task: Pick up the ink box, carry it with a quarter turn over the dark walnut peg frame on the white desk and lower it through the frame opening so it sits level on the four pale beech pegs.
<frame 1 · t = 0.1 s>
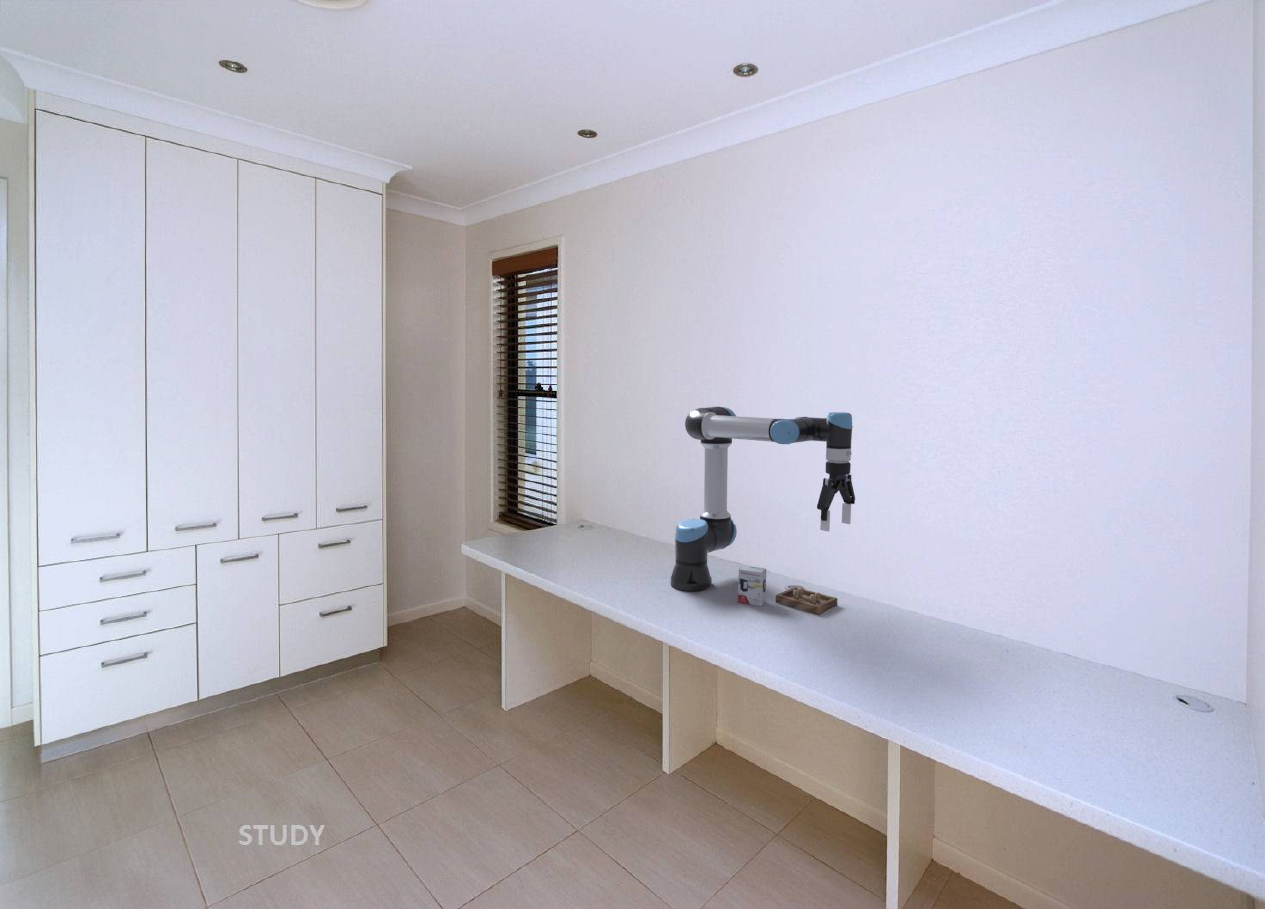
hand: (835, 527, 198), 28 cm above the table, fingers open, 13 cm apart
peg frame: (806, 604, 208), on the table
ink box: (751, 602, 210), on the table
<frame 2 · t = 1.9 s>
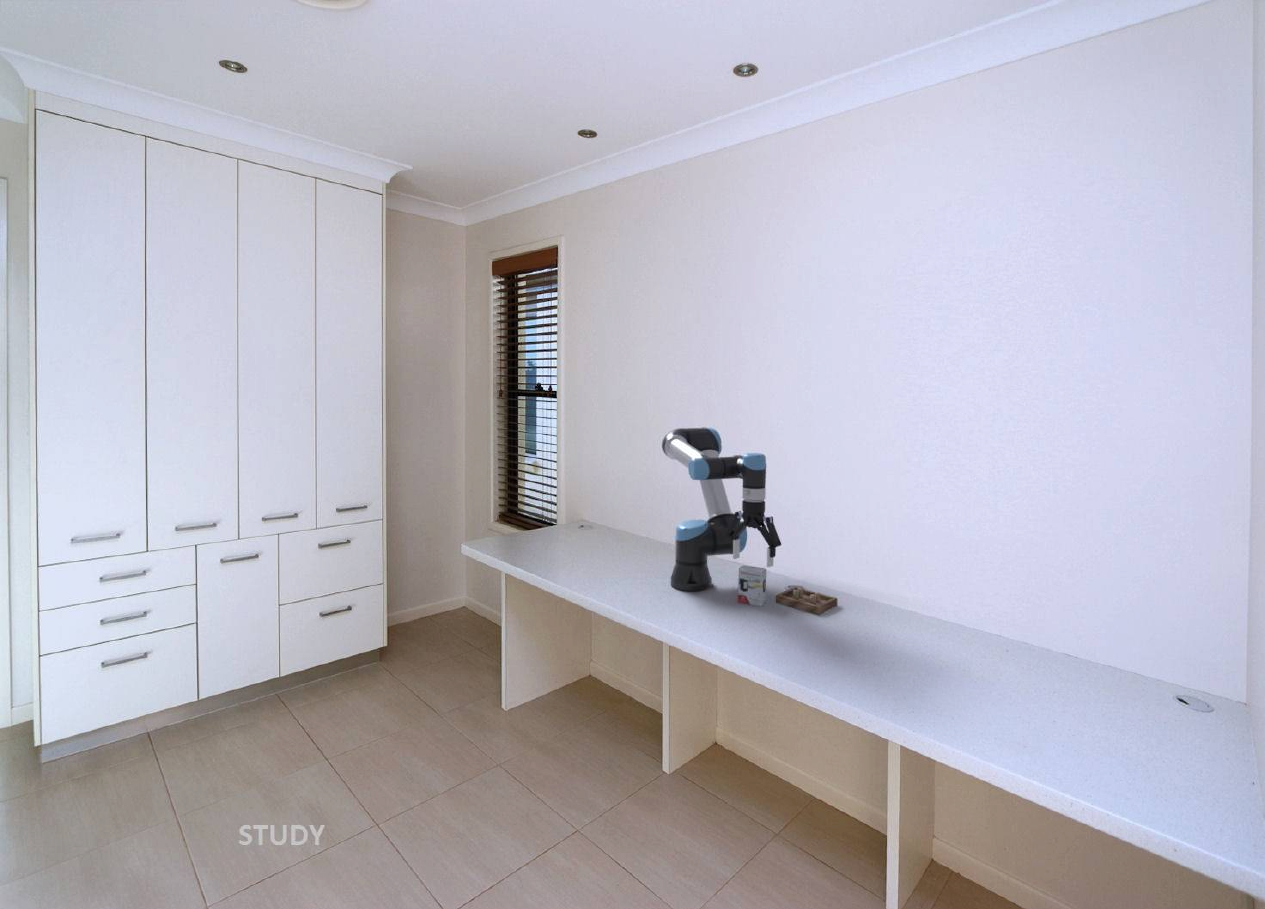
hand: (752, 562, 208), 14 cm above the table, fingers open, 13 cm apart
nothing on the table moved.
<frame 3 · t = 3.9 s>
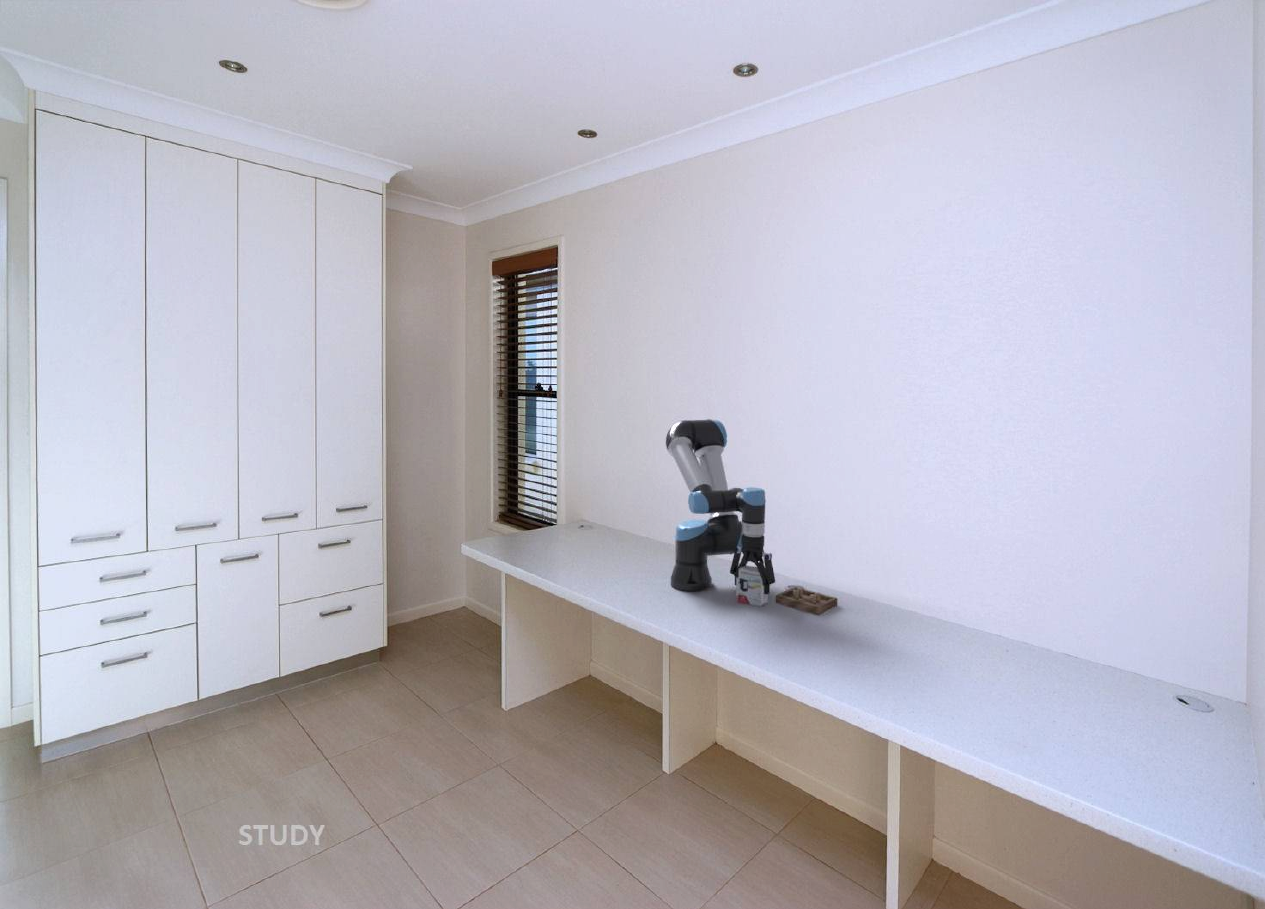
hand: (751, 598, 210), 1 cm above the table, fingers closed on ink box, 9 cm apart
ink box: (751, 602, 210), on the table, touching gripper
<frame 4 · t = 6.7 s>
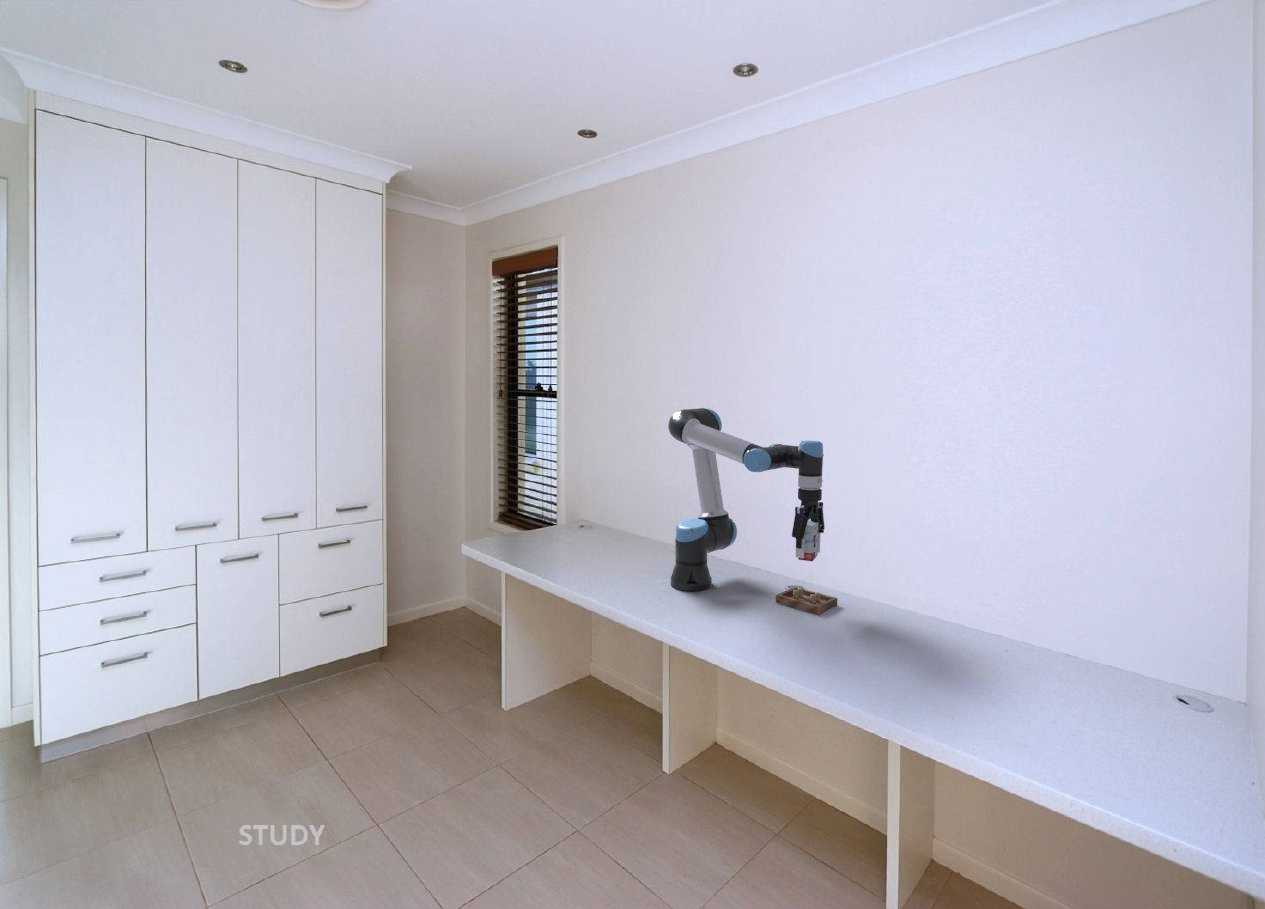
hand: (807, 554, 205), 17 cm above the table, fingers closed on ink box, 9 cm apart
ink box: (807, 558, 206), point 16 cm above the table, touching gripper
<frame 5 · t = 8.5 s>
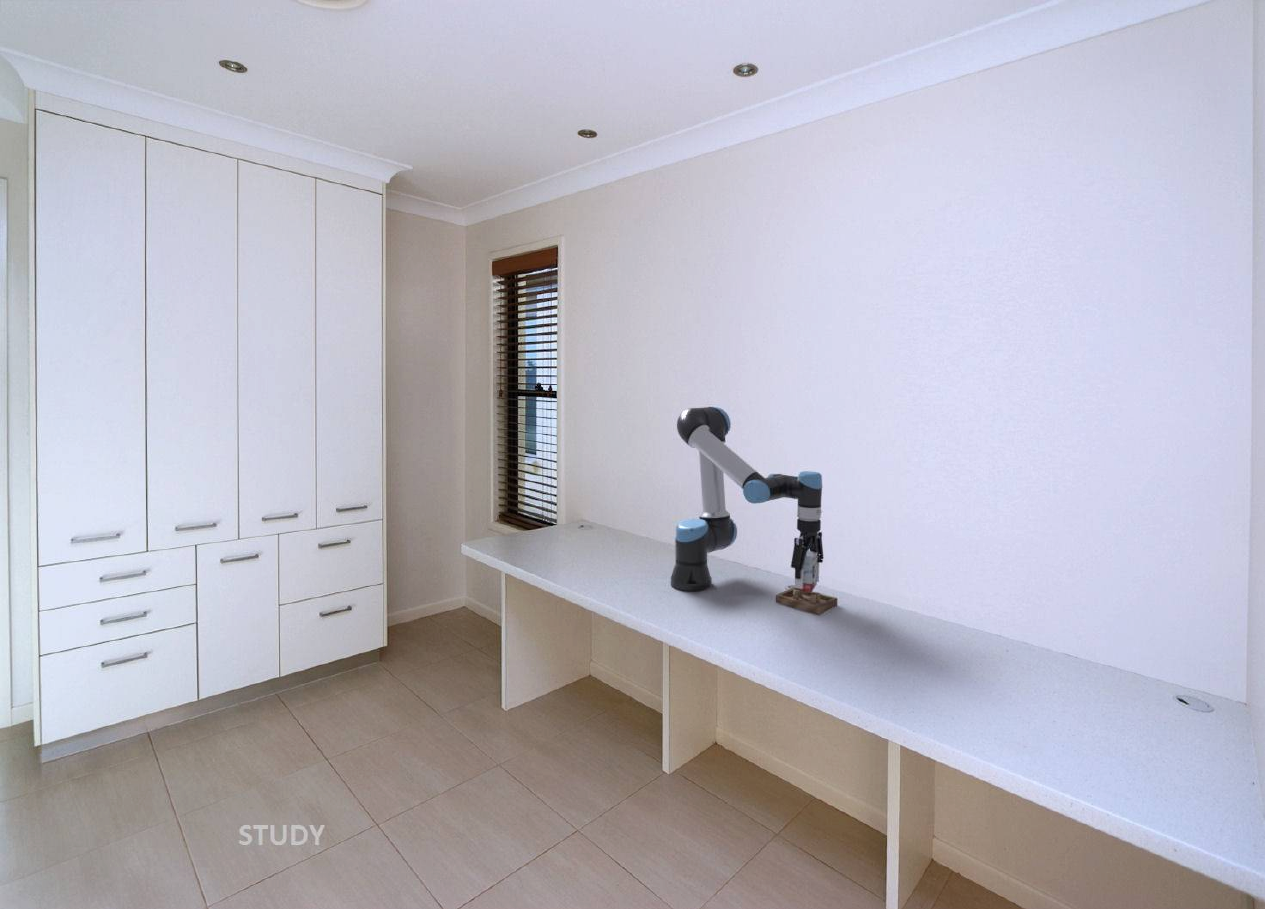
hand: (806, 584, 207), 7 cm above the table, fingers closed on ink box, 9 cm apart
ink box: (807, 588, 207), point 6 cm above the table, touching gripper
when the fingers open (7 cm above the table, at t = 9.7 s): ink box drops 1 cm, resting on peg frame.
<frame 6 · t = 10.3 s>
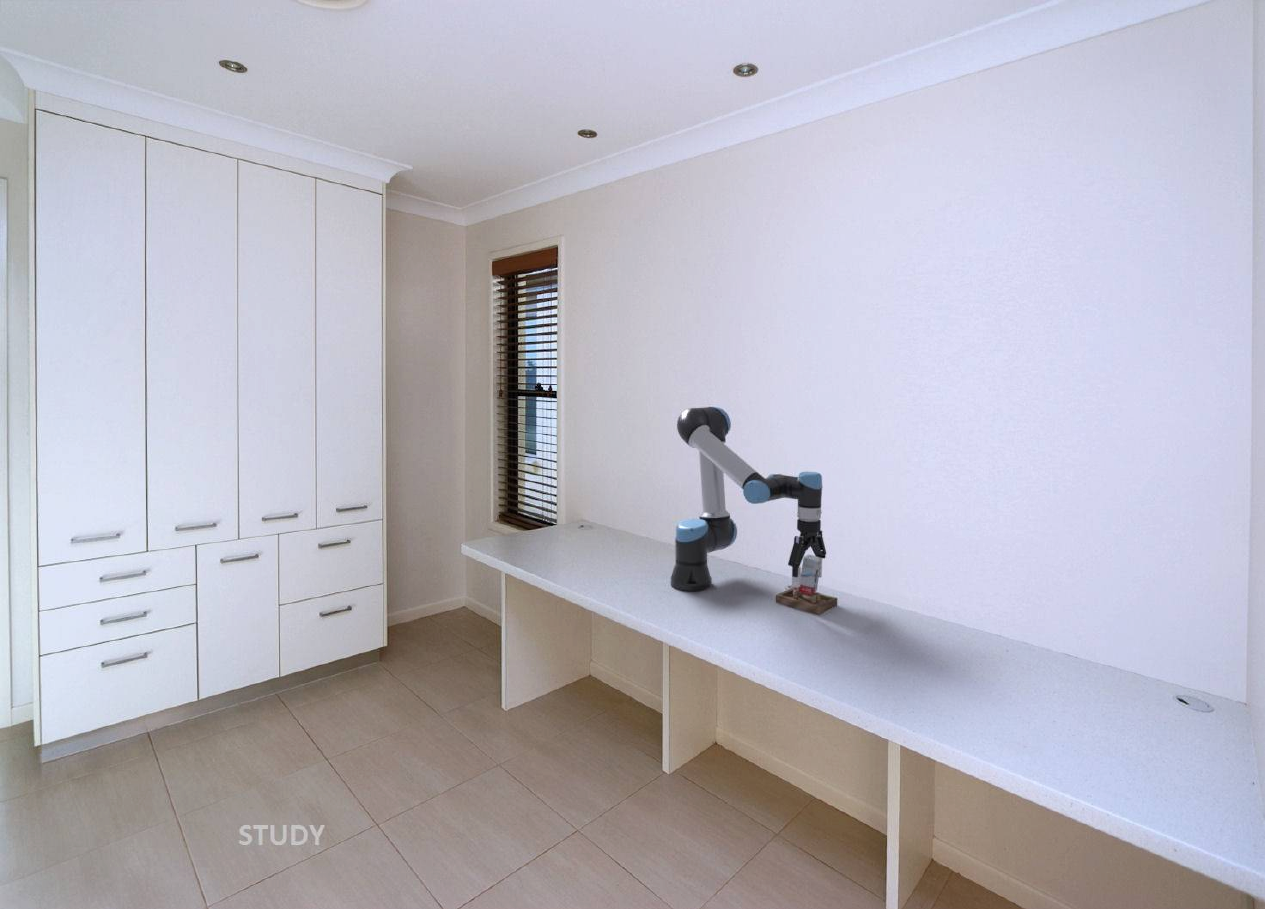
hand: (807, 581, 207), 8 cm above the table, fingers open, 13 cm apart
ink box: (807, 592, 207), point 4 cm above the table, touching gripper, peg frame
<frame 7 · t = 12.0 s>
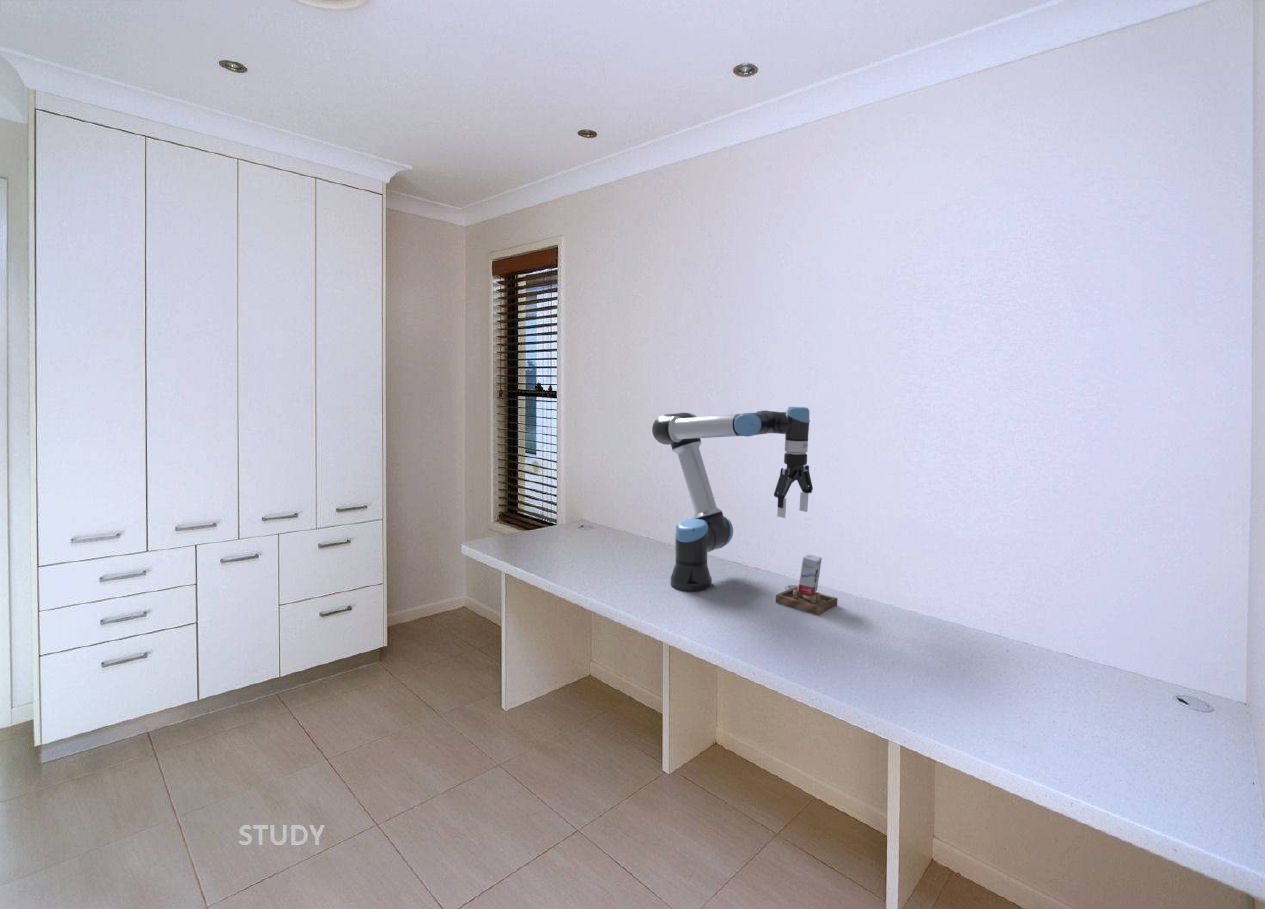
hand: (792, 514, 212), 29 cm above the table, fingers open, 13 cm apart
ink box: (807, 592, 207), point 4 cm above the table, touching peg frame
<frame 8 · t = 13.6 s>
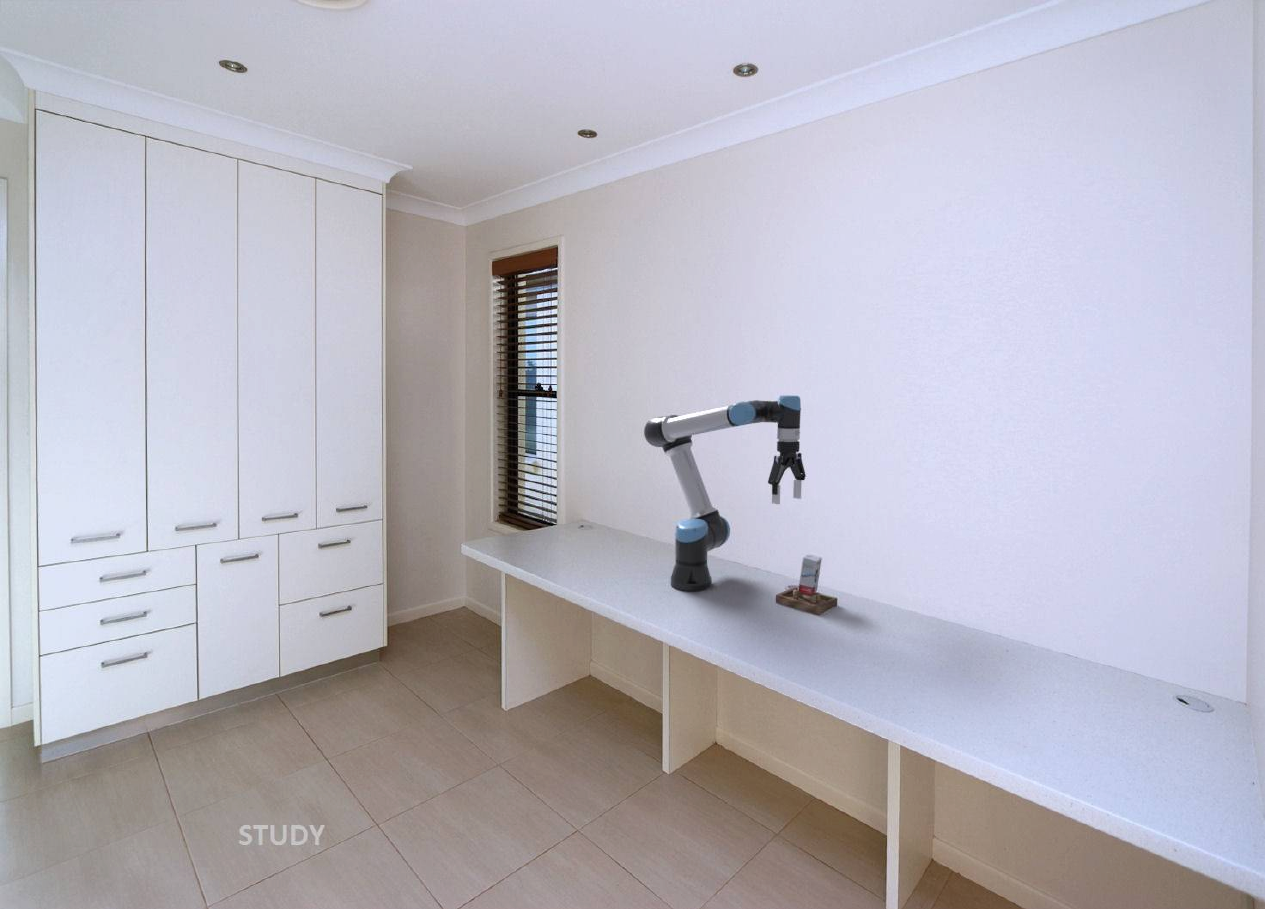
hand: (786, 501, 216), 33 cm above the table, fingers open, 13 cm apart
nothing on the table moved.
at the end: ink box 0.4 cm off-centre on the peg frame, point 4.0 cm above the peg frame's base; ink box tilted 8°; the gripper is holding nothing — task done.
